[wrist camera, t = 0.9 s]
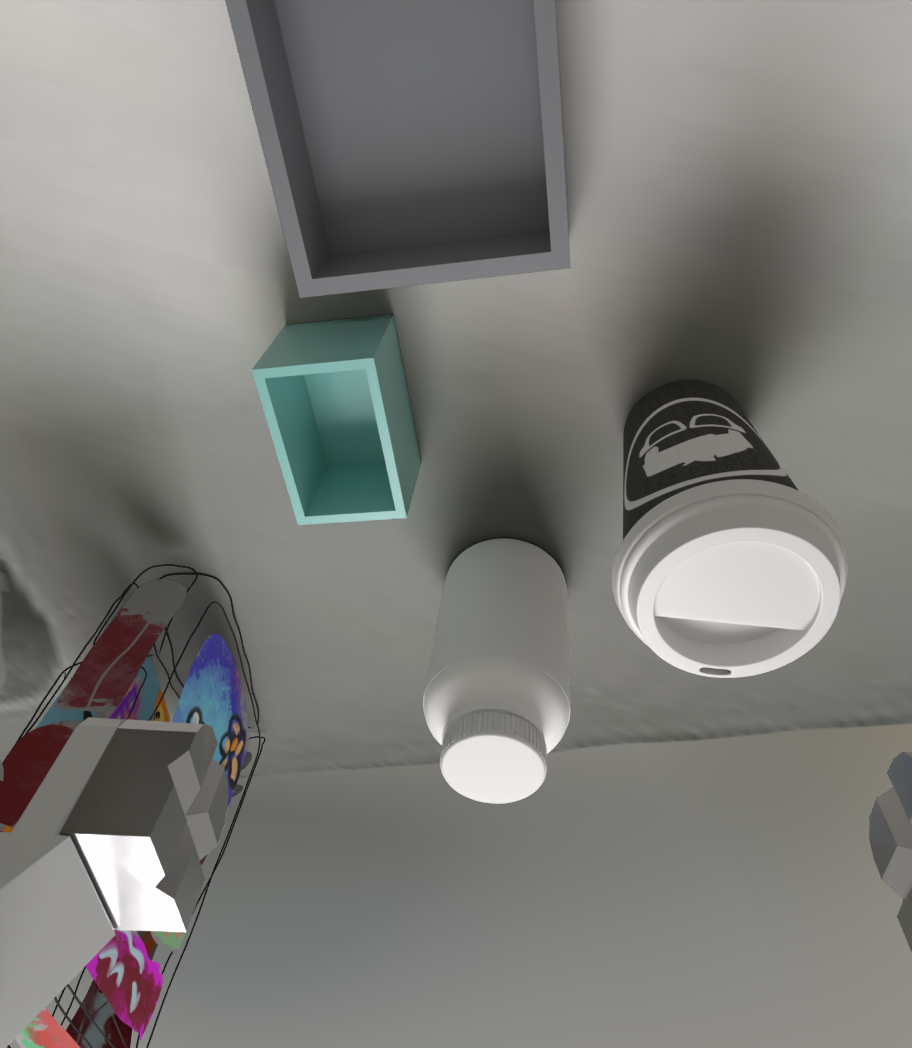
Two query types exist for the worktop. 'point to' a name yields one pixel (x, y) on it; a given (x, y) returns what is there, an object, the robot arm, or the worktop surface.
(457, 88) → the large crate
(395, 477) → the small crate
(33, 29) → the worktop surface
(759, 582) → the coffee cup
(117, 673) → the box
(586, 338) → the worktop surface
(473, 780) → the pill bottle
